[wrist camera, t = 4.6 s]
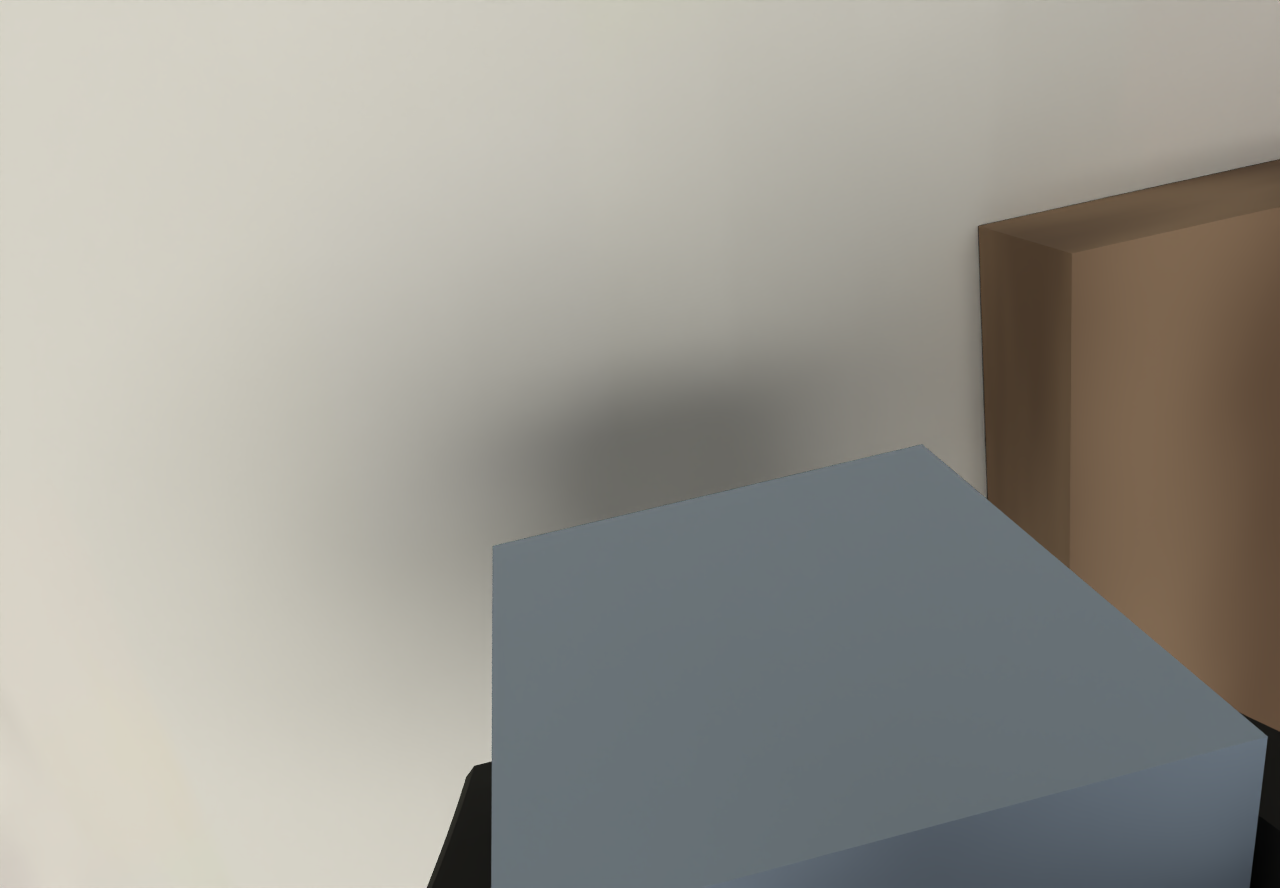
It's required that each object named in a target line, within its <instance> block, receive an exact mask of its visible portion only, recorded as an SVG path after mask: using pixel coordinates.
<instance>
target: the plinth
mask: <svg viewBox="0 0 1280 888" xmlns="http://www.w3.org/2000/svg"><path fill="white" fill-rule="evenodd" d="M979 253H980V283H981V313H982V343H983V373H984V403H985V432H986V462H987V492H988V500H989V501H990V502H991V503H992V504H993V505H994V506H996V507H997V508H998V509H999V510H1000V511H1002V512H1003V513H1004V514H1005V515H1006V516H1007V517H1009V518H1010V519H1011V520H1012V521H1013V522H1015V523H1016V524H1017V525H1018V526H1019V527H1020V528H1022V529H1023V530H1024V531H1025V532H1026V533H1028V534H1029V535H1030V536H1031V537H1032V538H1033V539H1035V540H1036V541H1037V542H1038V543H1039V544H1041V545H1042V546H1043V547H1044V548H1045V549H1047V550H1048V551H1049V552H1050V553H1051V554H1052V555H1054V556H1055V557H1056V558H1057V559H1058V560H1060V561H1061V562H1062V563H1063V564H1064V565H1065V566H1067V567H1068V568H1069V569H1070V570H1071V571H1073V572H1074V573H1075V574H1076V575H1077V576H1078V577H1080V578H1081V579H1082V580H1083V581H1084V582H1086V583H1087V584H1088V585H1089V586H1090V587H1091V588H1093V589H1094V590H1095V591H1096V592H1097V593H1099V594H1100V595H1101V596H1102V597H1103V598H1104V599H1106V600H1107V601H1108V602H1109V603H1110V604H1112V605H1113V606H1114V607H1115V608H1116V609H1117V610H1119V611H1120V612H1121V613H1122V614H1123V615H1125V616H1126V617H1127V618H1128V619H1129V620H1130V621H1132V622H1133V623H1134V624H1135V625H1136V626H1138V627H1139V628H1140V629H1141V630H1142V631H1143V632H1145V633H1146V634H1147V635H1148V636H1149V637H1151V638H1152V639H1153V640H1154V641H1155V642H1156V643H1158V644H1159V645H1160V646H1161V647H1162V648H1164V649H1165V650H1166V651H1167V652H1168V653H1170V654H1171V655H1172V656H1173V657H1174V658H1175V659H1177V660H1178V661H1179V662H1180V663H1181V664H1183V665H1184V666H1185V667H1186V668H1187V669H1188V670H1190V671H1191V672H1192V673H1193V674H1194V675H1196V676H1197V677H1198V678H1199V679H1200V680H1201V681H1203V682H1204V683H1205V684H1206V685H1207V686H1209V687H1210V688H1211V689H1212V690H1213V691H1214V692H1216V693H1217V694H1218V695H1219V696H1220V697H1222V698H1223V699H1224V700H1225V701H1226V702H1227V703H1229V704H1230V705H1231V706H1232V707H1233V708H1235V709H1236V710H1237V711H1238V712H1240V713H1242V714H1244V715H1246V716H1248V717H1250V718H1252V719H1254V720H1256V721H1258V722H1261V723H1263V724H1265V725H1267V726H1269V727H1271V728H1273V729H1275V730H1278V731H1280V160H1275V161H1270V162H1266V163H1261V164H1257V165H1252V166H1248V167H1243V168H1239V169H1234V170H1230V171H1225V172H1221V173H1216V174H1212V175H1207V176H1203V177H1198V178H1194V179H1189V180H1184V181H1180V182H1175V183H1171V184H1166V185H1162V186H1157V187H1153V188H1148V189H1144V190H1139V191H1135V192H1130V193H1126V194H1121V195H1117V196H1112V197H1107V198H1103V199H1098V200H1094V201H1089V202H1085V203H1080V204H1076V205H1071V206H1067V207H1062V208H1058V209H1053V210H1049V211H1044V212H1040V213H1035V214H1031V215H1026V216H1021V217H1017V218H1012V219H1008V220H1003V221H999V222H994V223H990V224H985V225H981V226H979Z"/></svg>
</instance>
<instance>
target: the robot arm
mask: <svg viewBox="0 0 1280 888" xmlns="http://www.w3.org/2000/svg"><path fill="white" fill-rule="evenodd" d="M1239 713H1240V712H1239ZM1240 714H1242V713H1240ZM1242 715H1243V716H1244V717H1245V718H1246V719H1248V720H1249V721H1250V722H1251V723H1252V724H1253V725H1255V726H1256V727H1257V728H1258V729H1259V730H1261V731H1262V732H1263V733H1264V734H1265V735H1266V736H1268V739H1267V748H1266V756H1265V764H1264V772H1263V781H1262V789H1261V797H1260V805H1259V814H1258V822H1257V830H1256V839H1255V847H1254V855H1253V863H1252V872H1251V880H1250V888H1280V731H1278V730H1275V729H1273V728H1271V727H1269V726H1267V725H1265V724H1263V723H1261V722H1258V721H1256V720H1254V719H1252V718H1250V717H1248V716H1246V715H1244V714H1242ZM491 846H492V762H488V763H484V764H480V765H476V766H474V767H473V769H472V770H471V771H470V773H469V774H468V776H467V777H466V780H465V783H464V786H463V789H462V793H461V796H460V799H459V802H458V805H457V808H456V811H455V814H454V817H453V819H452V822H451V825H450V828H449V831H448V834H447V836H446V839H445V842H444V844H443V847H442V850H441V853H440V855H439V858H438V860H437V863H436V866H435V868H434V871H433V873H432V876H431V879H430V881H429V884H428V886H427V888H491Z"/></svg>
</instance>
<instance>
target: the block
mask: <svg viewBox="0 0 1280 888" xmlns="http://www.w3.org/2000/svg"><path fill="white" fill-rule="evenodd" d="M1267 739H1268V736H1266V735H1265V734H1264V733H1263V732H1262V731H1261V730H1259V729H1258V728H1257V727H1256V726H1255V725H1253V724H1252V723H1251V722H1250V721H1249V720H1248V719H1246V718H1245V717H1244V716H1243V715H1242V714H1240V713H1239V712H1238V711H1237V710H1236V709H1235V708H1233V707H1232V706H1231V705H1230V704H1229V703H1227V702H1226V701H1225V700H1224V699H1223V698H1222V697H1220V696H1219V695H1218V694H1217V693H1216V692H1214V691H1213V690H1212V689H1211V688H1210V687H1209V686H1207V685H1206V684H1205V683H1204V682H1203V681H1201V680H1200V679H1199V678H1198V677H1197V676H1196V675H1194V674H1193V673H1192V672H1191V671H1190V670H1188V669H1187V668H1186V667H1185V666H1184V665H1183V664H1181V663H1180V662H1179V661H1178V660H1177V659H1175V658H1174V657H1173V656H1172V655H1171V654H1170V653H1168V652H1167V651H1166V650H1165V649H1164V648H1162V647H1161V646H1160V645H1159V644H1158V643H1156V642H1155V641H1154V640H1153V639H1152V638H1151V637H1149V636H1148V635H1147V634H1146V633H1145V632H1143V631H1142V630H1141V629H1140V628H1139V627H1138V626H1136V625H1135V624H1134V623H1133V622H1132V621H1130V620H1129V619H1128V618H1127V617H1126V616H1125V615H1123V614H1122V613H1121V612H1120V611H1119V610H1117V609H1116V608H1115V607H1114V606H1113V605H1112V604H1110V603H1109V602H1108V601H1107V600H1106V599H1104V598H1103V597H1102V596H1101V595H1100V594H1099V593H1097V592H1096V591H1095V590H1094V589H1093V588H1091V587H1090V586H1089V585H1088V584H1087V583H1086V582H1084V581H1083V580H1082V579H1081V578H1080V577H1078V576H1077V575H1076V574H1075V573H1074V572H1073V571H1071V570H1070V569H1069V568H1068V567H1067V566H1065V565H1064V564H1063V563H1062V562H1061V561H1060V560H1058V559H1057V558H1056V557H1055V556H1054V555H1052V554H1051V553H1050V552H1049V551H1048V550H1047V549H1045V548H1044V547H1043V546H1042V545H1041V544H1039V543H1038V542H1037V541H1036V540H1035V539H1033V538H1032V537H1031V536H1030V535H1029V534H1028V533H1026V532H1025V531H1024V530H1023V529H1022V528H1020V527H1019V526H1018V525H1017V524H1016V523H1015V522H1013V521H1012V520H1011V519H1010V518H1009V517H1007V516H1006V515H1005V514H1004V513H1003V512H1002V511H1000V510H999V509H998V508H997V507H996V506H994V505H993V504H992V503H991V502H990V501H989V500H987V499H986V498H985V497H984V496H983V495H981V494H980V493H979V492H978V491H977V490H976V489H974V488H973V487H972V486H971V485H970V484H968V483H967V482H966V481H965V480H964V479H963V478H961V477H960V476H959V475H958V474H957V473H955V472H954V471H953V470H952V469H951V468H950V467H948V466H947V465H946V464H945V463H944V462H942V461H941V460H940V459H939V458H938V457H937V456H935V455H934V454H933V453H932V452H931V451H929V450H928V449H927V448H926V447H925V446H924V445H922V444H921V445H917V446H913V447H908V448H904V449H900V450H896V451H892V452H887V453H883V454H879V455H875V456H870V457H866V458H862V459H858V460H854V461H849V462H845V463H841V464H837V465H832V466H828V467H824V468H820V469H816V470H811V471H807V472H803V473H799V474H794V475H790V476H786V477H782V478H778V479H773V480H769V481H765V482H761V483H757V484H752V485H748V486H744V487H740V488H735V489H731V490H727V491H723V492H719V493H714V494H710V495H706V496H702V497H697V498H693V499H689V500H685V501H681V502H676V503H672V504H668V505H664V506H659V507H655V508H651V509H647V510H643V511H638V512H634V513H630V514H626V515H622V516H617V517H613V518H609V519H605V520H600V521H596V522H592V523H588V524H584V525H579V526H575V527H571V528H567V529H562V530H558V531H554V532H550V533H546V534H541V535H537V536H533V537H529V538H524V539H520V540H516V541H512V542H508V543H503V544H499V545H495V546H493V605H492V846H491V888H1250V880H1251V872H1252V863H1253V855H1254V847H1255V839H1256V830H1257V822H1258V814H1259V805H1260V797H1261V789H1262V781H1263V772H1264V764H1265V756H1266V748H1267Z"/></svg>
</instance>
